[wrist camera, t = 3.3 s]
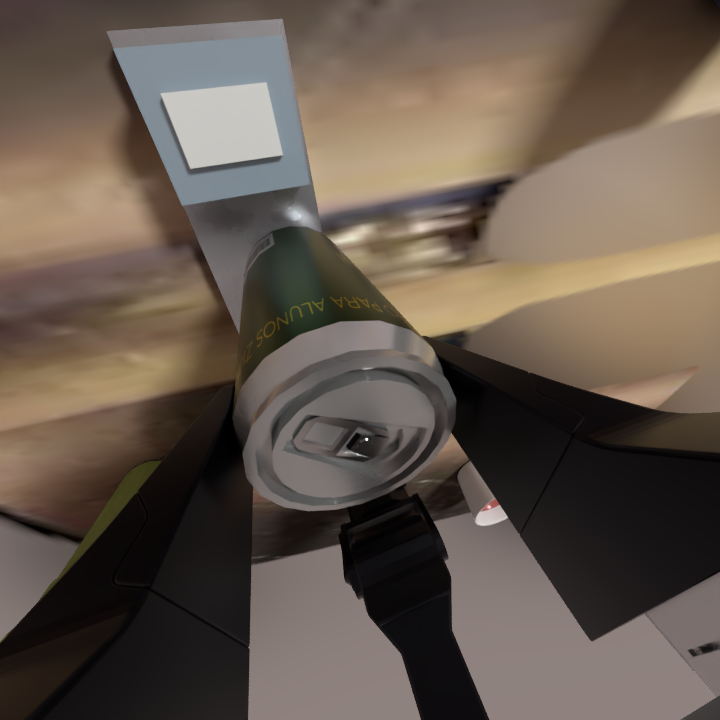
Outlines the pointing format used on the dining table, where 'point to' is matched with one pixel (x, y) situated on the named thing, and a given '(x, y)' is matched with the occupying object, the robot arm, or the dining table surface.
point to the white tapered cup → (479, 497)
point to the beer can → (330, 380)
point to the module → (219, 115)
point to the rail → (243, 213)
